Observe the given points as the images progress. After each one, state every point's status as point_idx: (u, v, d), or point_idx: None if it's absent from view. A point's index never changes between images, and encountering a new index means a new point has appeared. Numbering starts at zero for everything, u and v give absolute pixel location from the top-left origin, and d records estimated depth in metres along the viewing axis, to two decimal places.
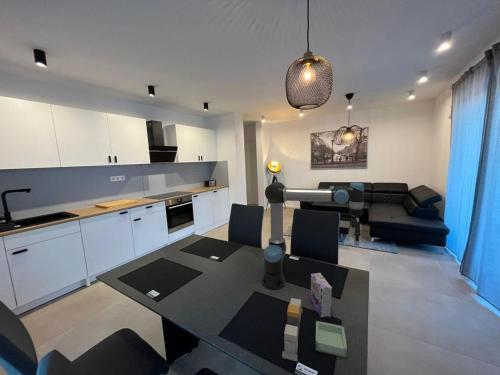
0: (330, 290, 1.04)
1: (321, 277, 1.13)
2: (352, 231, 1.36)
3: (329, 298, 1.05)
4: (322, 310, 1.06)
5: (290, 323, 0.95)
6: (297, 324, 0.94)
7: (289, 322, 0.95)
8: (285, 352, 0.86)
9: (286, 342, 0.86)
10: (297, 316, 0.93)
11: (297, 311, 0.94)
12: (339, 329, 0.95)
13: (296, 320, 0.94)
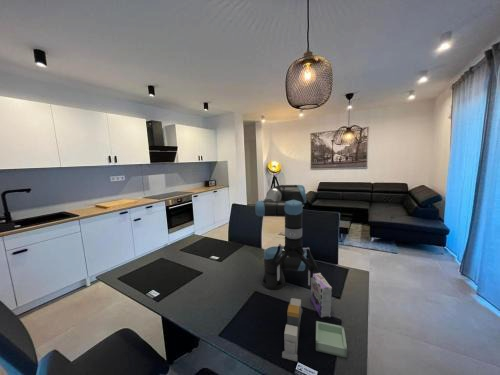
0: (330, 290, 1.04)
1: (321, 277, 1.13)
2: None
3: (329, 298, 1.05)
4: (322, 310, 1.06)
5: (290, 323, 0.95)
6: (297, 324, 0.94)
7: (289, 322, 0.95)
8: (285, 352, 0.86)
9: (286, 342, 0.86)
10: (297, 316, 0.93)
11: (297, 311, 0.94)
12: (339, 329, 0.95)
13: (296, 320, 0.94)
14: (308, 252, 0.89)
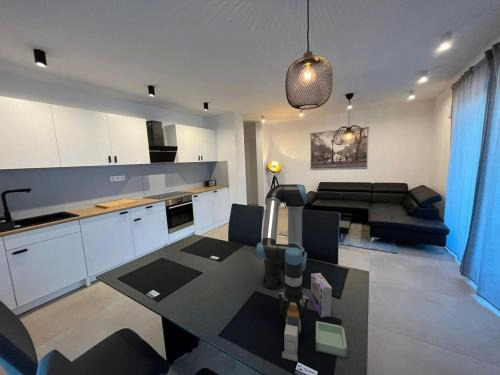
0: (330, 290, 1.04)
1: (321, 277, 1.13)
2: None
3: (329, 298, 1.05)
4: (322, 310, 1.06)
5: (290, 323, 0.95)
6: (297, 324, 0.94)
7: (289, 322, 0.95)
8: (285, 352, 0.86)
9: (286, 342, 0.86)
10: (297, 316, 0.93)
11: (297, 311, 0.94)
12: (339, 329, 0.95)
13: (296, 320, 0.94)
14: (306, 302, 0.93)
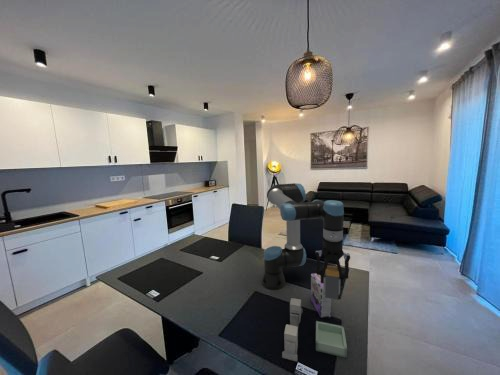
0: None
1: None
2: None
3: (329, 298, 1.05)
4: (322, 310, 1.06)
5: (329, 284, 0.86)
6: (337, 284, 0.85)
7: (328, 283, 0.86)
8: (285, 352, 0.86)
9: (286, 342, 0.86)
10: (337, 275, 0.84)
11: (337, 270, 0.85)
12: (339, 329, 0.95)
13: (336, 280, 0.85)
14: (348, 259, 0.83)
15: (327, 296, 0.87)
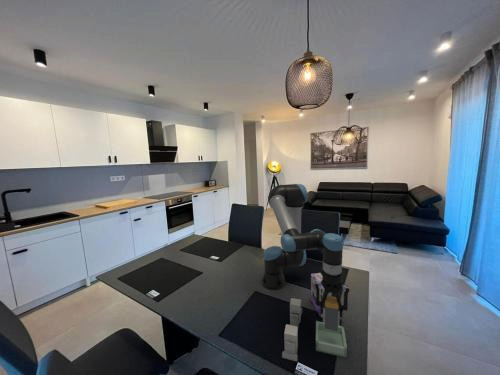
0: None
1: (321, 277, 1.13)
2: None
3: None
4: None
5: (328, 315, 0.88)
6: (336, 316, 0.87)
7: (328, 314, 0.88)
8: (285, 352, 0.86)
9: (286, 342, 0.86)
10: (336, 307, 0.86)
11: (336, 302, 0.87)
12: (339, 329, 0.95)
13: (335, 312, 0.87)
14: (347, 292, 0.85)
15: (327, 327, 0.89)
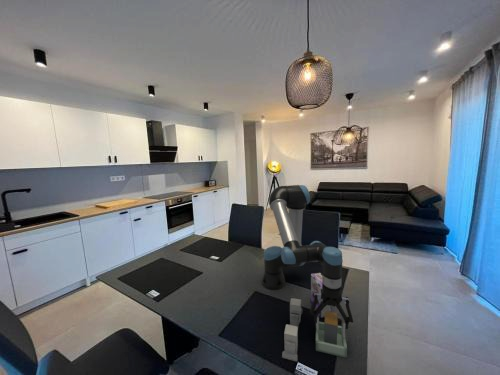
0: None
1: (321, 277, 1.13)
2: None
3: None
4: (322, 310, 1.06)
5: (328, 331, 0.89)
6: (335, 333, 0.88)
7: (327, 330, 0.89)
8: (285, 352, 0.86)
9: (286, 342, 0.86)
10: (336, 324, 0.87)
11: (335, 319, 0.88)
12: (339, 329, 0.95)
13: (335, 328, 0.88)
14: (347, 303, 0.86)
15: None
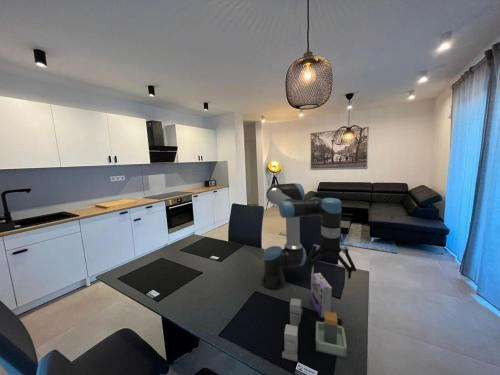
0: (330, 290, 1.04)
1: (321, 277, 1.13)
2: (345, 275, 0.88)
3: (329, 298, 1.05)
4: (322, 310, 1.06)
5: (327, 331, 0.89)
6: (335, 332, 0.88)
7: (327, 330, 0.89)
8: (285, 352, 0.86)
9: (286, 342, 0.86)
10: (336, 324, 0.87)
11: (335, 319, 0.88)
12: (339, 329, 0.95)
13: (334, 328, 0.88)
14: (347, 252, 0.85)
15: None
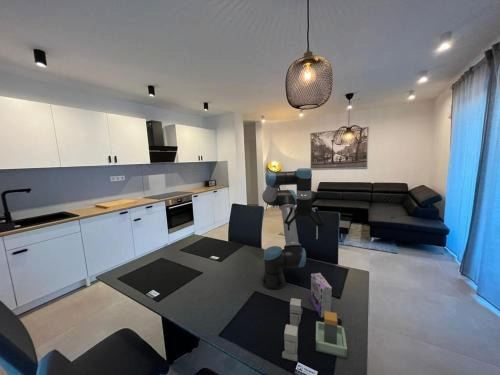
0: (330, 290, 1.04)
1: (321, 277, 1.13)
2: (316, 230, 1.09)
3: (329, 298, 1.05)
4: (322, 310, 1.06)
5: (327, 331, 0.89)
6: (335, 332, 0.88)
7: (327, 330, 0.89)
8: (285, 352, 0.86)
9: (286, 342, 0.86)
10: (336, 324, 0.87)
11: (335, 319, 0.88)
12: (339, 329, 0.95)
13: (334, 328, 0.88)
14: (316, 211, 1.06)
15: None
